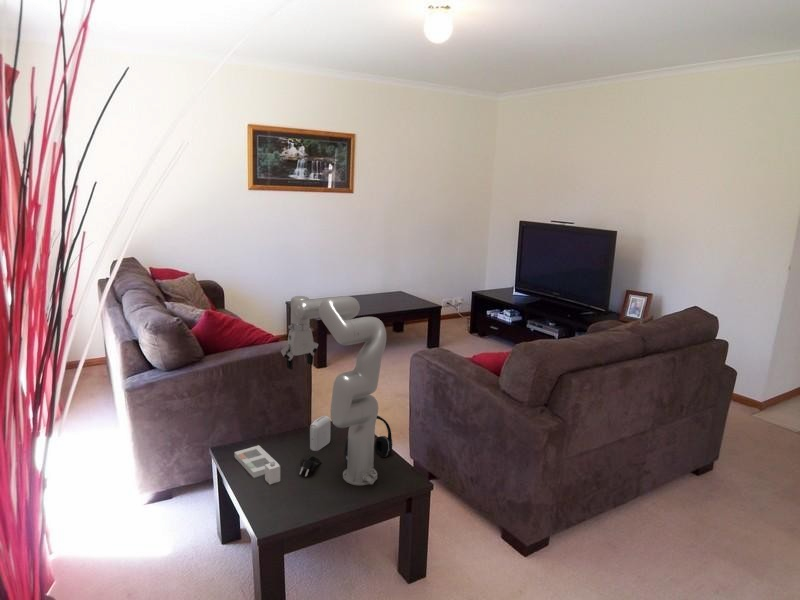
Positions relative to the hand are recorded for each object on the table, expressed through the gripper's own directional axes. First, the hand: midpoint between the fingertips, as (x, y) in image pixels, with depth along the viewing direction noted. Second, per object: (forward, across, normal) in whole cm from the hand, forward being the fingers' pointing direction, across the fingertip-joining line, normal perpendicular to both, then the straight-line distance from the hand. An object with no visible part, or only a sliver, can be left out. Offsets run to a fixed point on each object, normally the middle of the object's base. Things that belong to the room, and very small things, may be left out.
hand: (300, 366), depth 224 cm
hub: (+30, -26, -11) cm, 42 cm away
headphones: (+31, +9, -35) cm, 47 cm away
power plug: (+33, -9, -27) cm, 43 cm away
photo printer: (+31, +1, -14) cm, 34 cm away
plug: (+30, -27, -25) cm, 48 cm away
